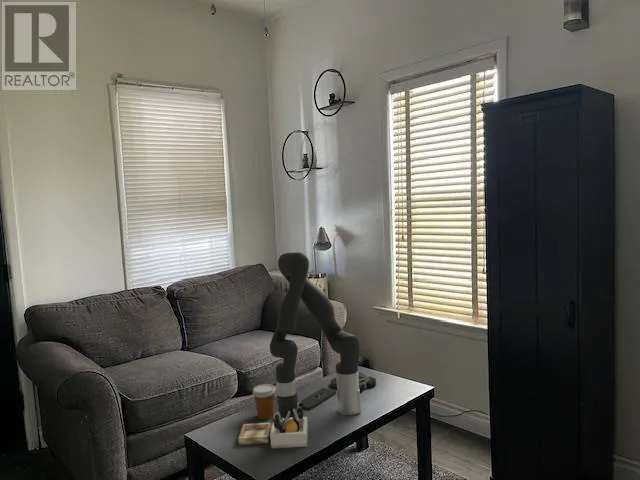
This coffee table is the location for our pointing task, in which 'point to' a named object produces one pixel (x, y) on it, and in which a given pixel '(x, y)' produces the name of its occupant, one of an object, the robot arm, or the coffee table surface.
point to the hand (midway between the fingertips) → (289, 434)
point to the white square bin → (290, 436)
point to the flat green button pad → (363, 381)
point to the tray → (255, 433)
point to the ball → (290, 426)
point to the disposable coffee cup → (264, 400)
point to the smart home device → (317, 398)
